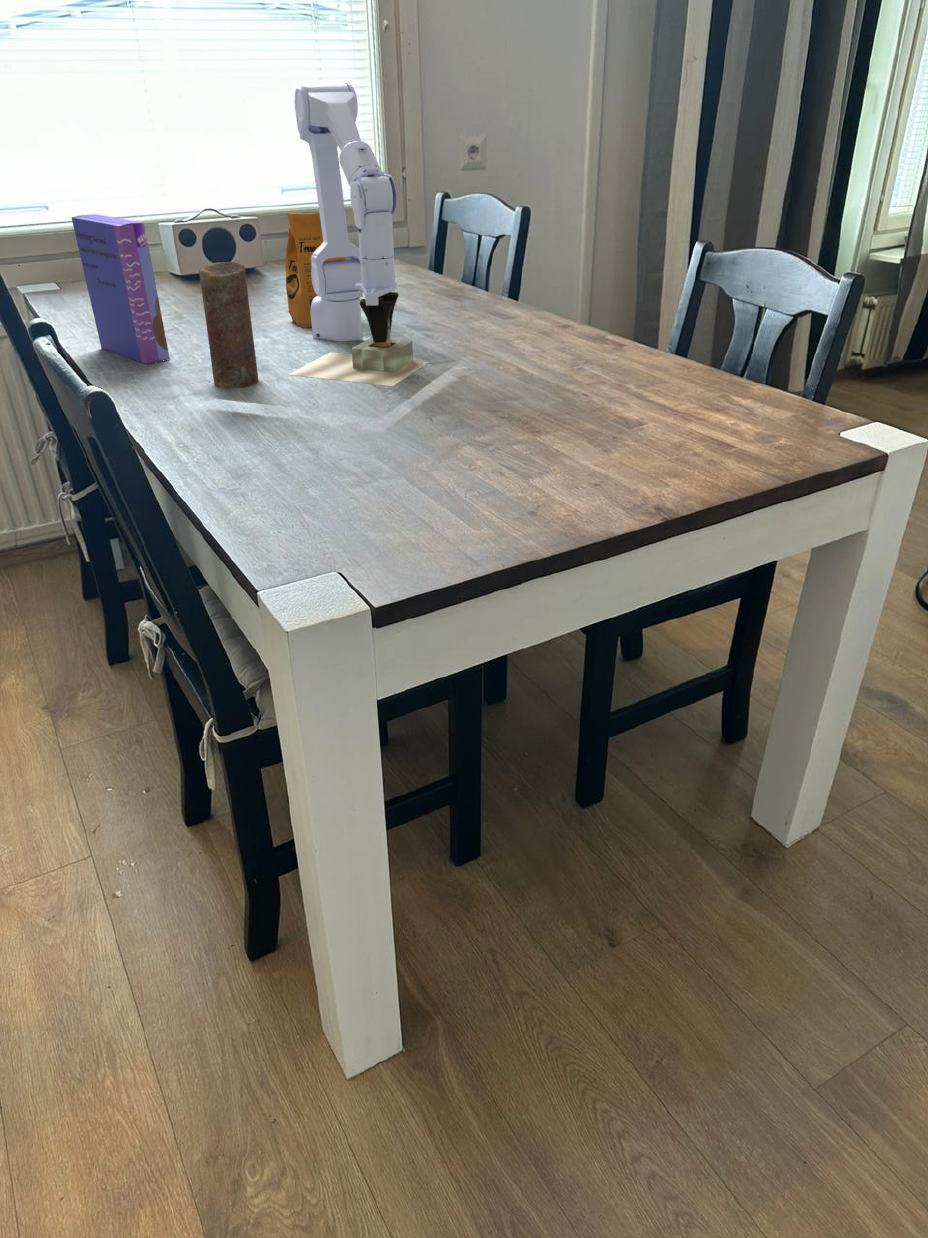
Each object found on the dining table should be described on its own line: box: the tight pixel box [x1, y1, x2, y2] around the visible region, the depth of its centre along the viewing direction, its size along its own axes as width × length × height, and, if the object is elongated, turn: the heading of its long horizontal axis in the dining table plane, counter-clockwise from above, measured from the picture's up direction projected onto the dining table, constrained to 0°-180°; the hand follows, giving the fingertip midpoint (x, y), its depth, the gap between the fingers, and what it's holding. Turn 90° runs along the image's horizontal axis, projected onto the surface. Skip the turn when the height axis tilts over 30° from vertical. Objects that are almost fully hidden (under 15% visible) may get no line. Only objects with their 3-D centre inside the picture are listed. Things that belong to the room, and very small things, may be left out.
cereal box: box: [71, 213, 170, 366], centre depth 162 cm, size 17×5×24 cm, turn 47°
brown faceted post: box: [198, 261, 259, 390], centre depth 142 cm, size 8×7×20 cm
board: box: [287, 336, 429, 387], centre depth 152 cm, size 20×15×5 cm
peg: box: [373, 322, 391, 348], centre depth 151 cm, size 3×3×7 cm
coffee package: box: [284, 211, 347, 329], centre depth 183 cm, size 10×12×22 cm
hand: (381, 339), depth 152 cm, fingers closed on peg, 3 cm apart
